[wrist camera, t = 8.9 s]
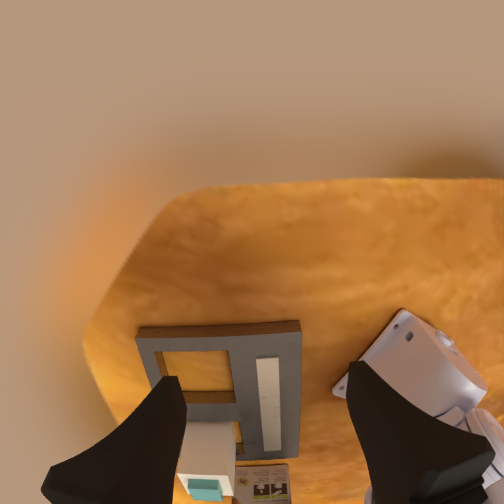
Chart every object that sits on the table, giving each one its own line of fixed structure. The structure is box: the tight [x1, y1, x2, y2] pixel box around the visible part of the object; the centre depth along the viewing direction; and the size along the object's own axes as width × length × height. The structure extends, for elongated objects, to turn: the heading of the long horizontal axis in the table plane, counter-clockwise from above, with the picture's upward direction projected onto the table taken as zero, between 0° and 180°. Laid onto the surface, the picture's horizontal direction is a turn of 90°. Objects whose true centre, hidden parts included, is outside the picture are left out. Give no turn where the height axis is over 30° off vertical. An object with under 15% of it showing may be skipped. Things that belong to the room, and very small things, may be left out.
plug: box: [177, 421, 236, 501], centre depth 23 cm, size 4×4×8 cm
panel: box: [135, 320, 302, 461], centre depth 24 cm, size 16×12×2 cm
